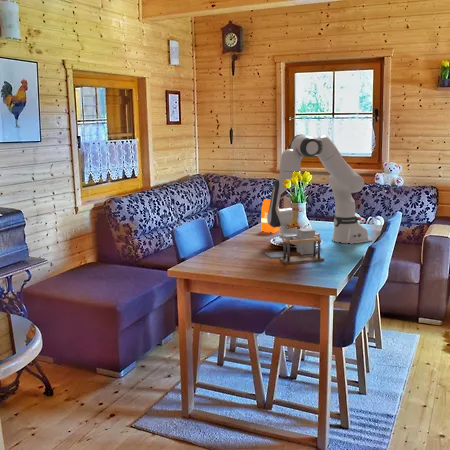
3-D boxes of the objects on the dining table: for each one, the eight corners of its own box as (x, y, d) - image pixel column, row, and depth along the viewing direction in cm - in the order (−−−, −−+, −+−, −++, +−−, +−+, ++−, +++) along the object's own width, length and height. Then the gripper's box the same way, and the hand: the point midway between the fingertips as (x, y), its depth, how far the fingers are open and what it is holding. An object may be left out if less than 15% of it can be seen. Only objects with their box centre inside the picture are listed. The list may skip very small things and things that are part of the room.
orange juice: (266, 229, 350) (266, 198, 346) (279, 230, 345) (279, 198, 341) (261, 231, 343) (261, 199, 339) (274, 232, 339) (274, 200, 335)
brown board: (317, 256, 279) (317, 254, 279) (324, 260, 271) (324, 258, 271) (279, 260, 274) (279, 257, 274) (286, 264, 266) (286, 262, 266)
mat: (282, 252, 290) (282, 251, 290) (289, 257, 280) (289, 255, 280) (264, 254, 287) (264, 252, 287) (271, 258, 278) (271, 257, 278)
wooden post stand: (315, 255, 278) (315, 235, 276) (320, 258, 272) (320, 238, 270) (283, 258, 273) (283, 238, 272) (287, 261, 268) (287, 241, 266)
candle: (304, 227, 354) (304, 196, 350) (283, 226, 357) (283, 196, 353) (305, 225, 361) (305, 194, 357) (284, 224, 364) (284, 194, 360)
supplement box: (302, 255, 283) (302, 231, 281) (296, 251, 290) (296, 228, 288) (315, 254, 285) (315, 230, 283) (309, 250, 292) (309, 227, 290)
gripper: (278, 230, 295) (287, 235, 282) (313, 227, 301) (324, 232, 288) (278, 242, 297) (287, 247, 284) (313, 239, 302) (324, 244, 289)
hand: (306, 240), depth 286 cm, fingers closed on supplement box, 7 cm apart
